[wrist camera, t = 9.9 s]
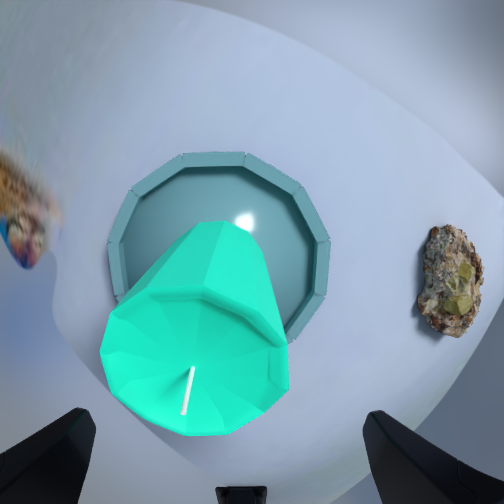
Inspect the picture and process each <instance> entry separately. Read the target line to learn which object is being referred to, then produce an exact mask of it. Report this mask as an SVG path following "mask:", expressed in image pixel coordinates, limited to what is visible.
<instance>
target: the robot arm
mask: <svg viewBox="0 0 504 504" xmlns="http://www.w3.org/2000/svg"><path fill="white" fill-rule="evenodd" d="M95 433H96V426H95V423H94V421H93V419H92V417H91V415H90V413H89V411H87V410H86V409H83V408H78V407H77V408H75V409H73V410H71V411H70V412H68V413H67V414H65V415H64V416H62V417H60V418H59V419H57V420H55V421H54V422H52V423H51V424H49V425H47V426H46V427H44V428H43V429H41V430H39V431H38V432H36V433H35V434H33V435H31V436H30V437H28V438H26V439H25V440H23V441H21V442H20V443H18V444H16V445H15V446H13V447H11V448H10V449H8V450H6V452H3V453H1V454H0V504H78V500H79V497H80V493H81V490H82V486H83V482H84V480H85V477H86V473H87V470H88V466H89V462H90V458H91V452H92V447H93V443H94V438H95ZM363 437H364V442H365V446H366V451H367V455H368V460H369V464H370V468H371V472H372V475H373V478H374V480H375V483H376V486H377V489H378V492H379V495H380V498H381V500H382V503H383V504H504V481H502V480H499V479H497V478H494V477H492V476H489V475H487V474H484V473H482V472H480V471H478V470H476V469H474V468H472V467H470V466H469V465H467V464H465V463H463V462H462V461H460V460H457V459H456V458H455V457H453V456H451V455H450V454H448V453H446V452H445V451H443V450H442V449H440V448H438V447H437V446H435V445H434V444H432V443H431V442H429V441H427V440H426V439H424V438H422V437H421V436H420V435H418V434H416V433H415V432H413V431H412V430H410V429H409V428H407V427H406V426H404V425H403V424H401V423H400V422H398V421H397V420H395V419H394V418H392V417H391V416H389V415H388V414H387V413H385V412H384V411H382V410H377V411H372V412H370V413H369V414H368V415H367V418H366V421H365V424H364V426H363ZM215 491H216V495H217V499H218V503H219V504H266V496H267V487H216V490H215Z"/></svg>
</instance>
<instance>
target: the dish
mask: <svg viewBox="0 0 504 504" xmlns="http://www.w3.org/2000/svg"><path fill="white" fill-rule="evenodd" d="M131 189H132V190H129V191H128V193H127V196H126V198H125V200H124V202H123V204H122V207H121V209H120V211H119V214H118V216H117V218H116V221H115V223H114V225H113V228H112V230H111V233H110V235H109V238H108V241H109V243H107V247H108V256H109V263H110V271H111V278H112V284H113V290H114V295H117V296H116V299H117V301H118V302H120V301H121V300H122V299H123V298H124V296H125V295H126V294H127V293H128V292H129V291H130V290H131V288H132V287H133V286H134V285H135V284H136V283H137V282H138V281H139V280H140V278H141V277H142V276H143V275H144V274H145V273H146V272H147V271H148V270H149V269H150V267H151V266H152V265H153V264H154V263H155V262H156V261H157V260H158V259H159V258H160V257H161V256H162V255H163V253H164V252H165V251H166V250H167V249H168V248H169V247H170V246H171V245H172V244H173V243H174V242H175V241H176V240H177V239H178V238H179V237H180V236H181V235H183V234H184V233H185V232H187V231H188V230H190V229H191V228H192V227H194V226H195V225H197V224H198V223H200V222H212V221H224V220H225V221H227V222H229V223H231V224H234V225H236V226H238V227H240V228H242V229H244V230H246V231H248V232H249V233H250V235H251V236H252V238H253V239H254V240H255V242H256V243H257V245H258V246H259V248H260V249H261V251H262V252H263V256H264V259H265V263H266V267H267V270H268V274H269V278H270V281H271V285H272V288H273V292H274V296H275V299H276V303H277V307H278V311H279V314H280V318H281V322H282V325H283V329H284V333H285V337H286V340H287V344H289V343H291V342H293V339H296V338H297V337H298V335H299V334H300V333H301V331H302V330H303V329H304V327H305V326H306V325H307V323H308V322H309V320H310V319H311V318H312V316H313V315H314V313H315V312H316V310H317V309H318V308H319V306H320V305H321V303H322V302H323V300H324V299H325V297H324V295H326V292H327V282H328V270H329V258H330V245H331V241H329V239H330V237H329V235H328V233H327V231H326V229H325V227H324V225H323V223H322V221H321V219H320V217H319V215H318V213H317V211H316V209H315V208H314V206H313V204H312V202H311V200H310V198H309V196H308V194H307V192H306V190H305V189H304V187H302V186H301V184H300V183H298V182H297V181H295V180H293V179H292V178H290V177H289V176H287V175H285V174H284V173H282V172H280V171H279V170H278V169H276V168H275V167H273V166H271V165H269V164H267V163H265V162H263V161H262V160H260V159H258V158H256V157H255V156H253V155H251V154H249V153H248V154H247V155H245V152H206V153H183V156H182V155H178V156H177V157H175V158H173V159H172V160H170V161H169V162H167V163H166V164H164V165H163V166H161V167H160V168H158V169H157V170H155V171H154V172H152V173H151V174H150V175H148V176H147V177H145V178H144V179H142V180H141V181H140V182H138V183H137V184H135V185H134V186H133V187H131ZM292 338H293V339H292Z"/></svg>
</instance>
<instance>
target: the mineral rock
mask: <svg viewBox="0 0 504 504" xmlns="http://www.w3.org/2000/svg"><path fill="white" fill-rule="evenodd" d="M423 254H424V256H423V262H424V266H423V270H424V273H425V286H424V289H423V291H422V293H421V294H420V296H419V297H418V309H419V311H420V312H421V314H422V315H424V316H425V317H426V320H427V322H428V324H429V325H430V327H431V328H433V329H435V330H437V331H438V332H440V333H444V334H445V335H449V336H452V337H455V338H459V337H461V336H462V335H463V334H464V333H466V332H467V328H468V327H470V326H471V325H472V324H473V319H474V318H475V317H476V315H477V313H478V312H479V310H478V308H479V306H480V302H481V294H480V292H479V287H480V285H483V281H484V278H482V274H483V271H484V266H483V265H482V263H481V258H480V257H479V256H478V254H477V253H475V247H474V246H473V244H472V242H470V241H468V240H467V236H466V235H465V232H463V231H462V230H461V229H456V228H455V227H454V226H453V225H449V224H447V225H446V226H445V227H444V228H442V229H441V228H438V227H436V226H435V227H434V228H432V233H431V238H430V241H429V242H428V243H426V245H425V249H424V253H423Z"/></svg>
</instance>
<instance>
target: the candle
mask: <svg viewBox="0 0 504 504" xmlns="http://www.w3.org/2000/svg"><path fill="white" fill-rule="evenodd" d="M99 353H100V357H101V361H102V364H103V368H104V371H105V375H106V378H107V381H108V385H109V388H110V391H111V394H112V395H113V396H114V397H116V398H117V399H118V400H119V401H121V402H122V403H123V404H124V405H126V406H127V407H128V408H130V409H131V410H132V411H134V412H135V413H136V414H138V415H139V416H140V417H142V418H143V419H145V420H147V421H149V422H151V423H154V424H156V425H158V426H161V427H163V428H166V429H168V430H171V431H173V432H176V433H178V434H181V435H184V436H210V435H228V434H230V433H232V432H233V431H235V430H237V429H239V428H240V427H242V426H244V425H245V424H247V423H249V422H250V421H252V420H253V419H255V418H257V417H258V416H260V415H261V414H263V413H265V412H266V411H267V410H268V409H269V408H270V407H271V406H272V405H273V404H274V403H275V402H276V401H277V400H279V399H280V398H281V397H282V396H283V395H284V394H285V393H286V392H287V391H288V390H289V371H288V344H287V340H286V337H285V333H284V329H283V325H282V322H281V318H280V314H279V311H278V307H277V303H276V299H275V296H274V292H273V288H272V285H271V281H270V278H269V274H268V270H267V267H266V263H265V259H264V256H263V252H262V251H261V249H260V248H259V246H258V245H257V243H256V242H255V240H254V239H253V238H252V236H251V235H250V233H249V232H248V231H246V230H244V229H242V228H240V227H238V226H236V225H234V224H231V223H229V222H227V221H225V220H224V221H212V222H200V223H198V224H197V225H195V226H194V227H192V228H191V229H190V230H188V231H187V232H185V233H184V234H183V235H181V236H180V237H179V238H178V239H177V240H176V241H175V242H174V243H173V244H172V245H171V246H170V247H169V248H168V249H167V250H166V251H165V252H164V253H163V255H162V256H161V257H160V258H159V259H158V260H157V261H156V262H155V263H154V264H153V265H152V266H151V267H150V269H149V270H148V271H147V272H146V273H145V274H144V275H143V276H142V277H141V278H140V280H139V281H138V282H137V283H136V284H135V285H134V286H133V287H132V288H131V290H130V291H129V292H128V293H127V294H126V295H125V296H124V298H123V299H122V300H121V301H120V302H119V303H118V304H117V306H116V307H115V308H114V309H113V310H112V311H111V313H110V316H109V319H108V323H107V326H106V330H105V333H104V337H103V341H102V345H101V348H100V352H99Z"/></svg>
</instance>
